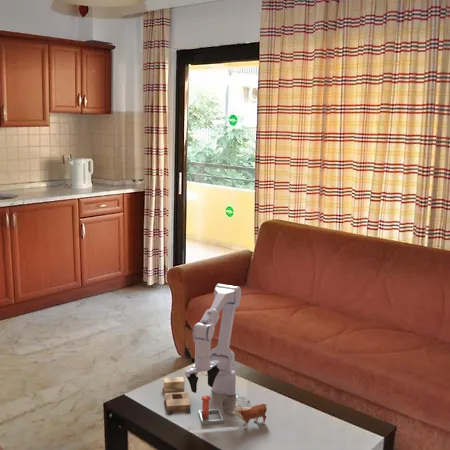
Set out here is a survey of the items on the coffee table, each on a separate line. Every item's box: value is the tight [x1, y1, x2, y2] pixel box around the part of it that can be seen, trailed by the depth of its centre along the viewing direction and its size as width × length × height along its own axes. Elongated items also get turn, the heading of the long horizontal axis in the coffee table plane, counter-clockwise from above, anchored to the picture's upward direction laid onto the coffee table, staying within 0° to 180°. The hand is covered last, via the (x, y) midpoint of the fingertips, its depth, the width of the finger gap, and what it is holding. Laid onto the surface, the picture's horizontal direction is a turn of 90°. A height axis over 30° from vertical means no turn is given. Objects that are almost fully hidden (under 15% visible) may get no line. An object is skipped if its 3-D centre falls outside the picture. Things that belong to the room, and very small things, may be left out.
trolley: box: [164, 391, 192, 415], centre depth 213 cm, size 9×14×3 cm, turn 11°
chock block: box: [163, 376, 185, 393], centre depth 225 cm, size 8×4×5 cm, turn 101°
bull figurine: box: [232, 403, 268, 431], centre depth 201 cm, size 4×13×8 cm, turn 113°
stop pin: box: [201, 394, 211, 420], centre depth 204 cm, size 3×3×8 cm
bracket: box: [195, 372, 208, 377], centre depth 237 cm, size 7×10×4 cm, turn 67°
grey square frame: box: [198, 408, 225, 425], centre depth 204 cm, size 8×8×2 cm
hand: (202, 388), depth 206 cm, fingers open, 7 cm apart
